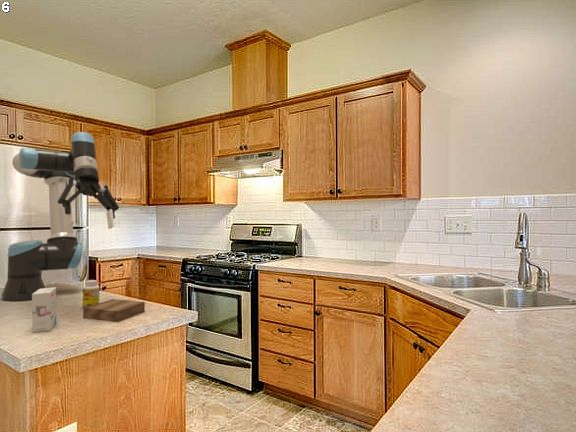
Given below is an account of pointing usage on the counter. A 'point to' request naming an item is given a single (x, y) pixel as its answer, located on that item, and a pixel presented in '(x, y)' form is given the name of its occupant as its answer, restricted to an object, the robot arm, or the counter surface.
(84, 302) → the supplement bottle
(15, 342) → the counter surface
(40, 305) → the ink box
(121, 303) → the walnut slab
